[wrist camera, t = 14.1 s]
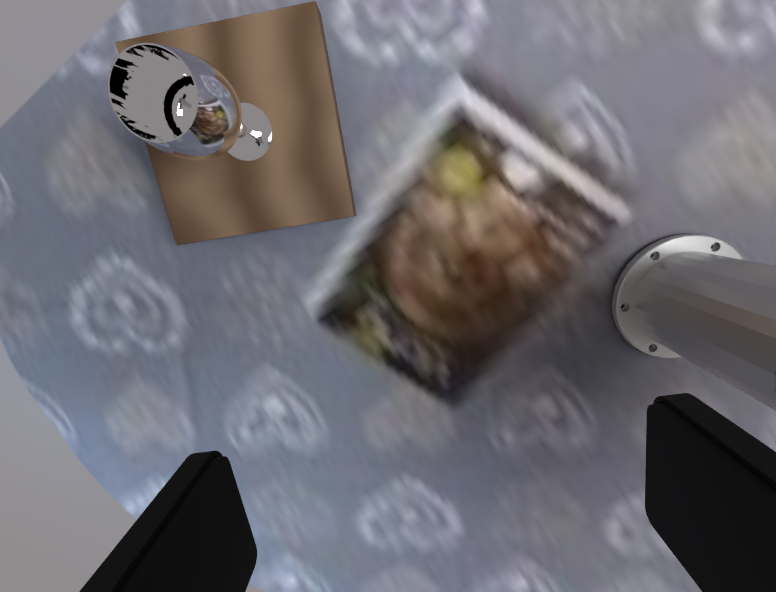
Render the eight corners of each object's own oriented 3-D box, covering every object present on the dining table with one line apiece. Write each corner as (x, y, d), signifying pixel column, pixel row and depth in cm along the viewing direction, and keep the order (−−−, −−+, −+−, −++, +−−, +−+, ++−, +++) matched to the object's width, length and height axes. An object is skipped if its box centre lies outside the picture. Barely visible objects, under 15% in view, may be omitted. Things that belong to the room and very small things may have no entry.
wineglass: (295, 134, 31) (232, 98, 19) (248, 184, 32) (162, 178, 20) (242, 76, 30) (143, 0, 18) (196, 130, 31) (74, 90, 19)
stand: (326, 26, 33) (315, 1, 28) (359, 213, 37) (353, 216, 32) (151, 61, 34) (115, 41, 29) (202, 239, 38) (176, 245, 33)
